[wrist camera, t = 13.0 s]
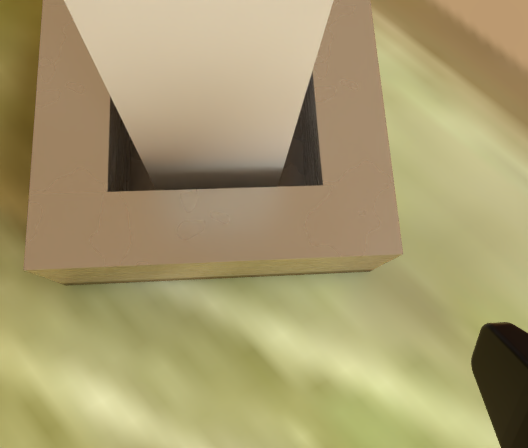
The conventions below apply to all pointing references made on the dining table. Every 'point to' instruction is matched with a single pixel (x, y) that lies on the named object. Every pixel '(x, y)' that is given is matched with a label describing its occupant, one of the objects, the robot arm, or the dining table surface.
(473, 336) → the dining table surface
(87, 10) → the plug
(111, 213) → the socket
